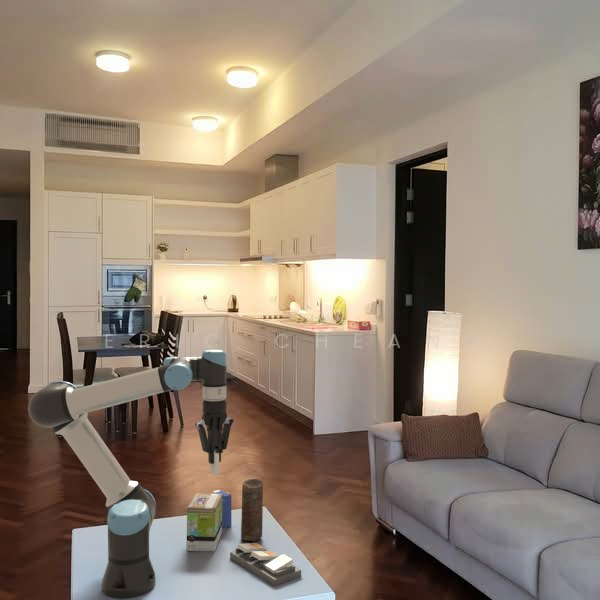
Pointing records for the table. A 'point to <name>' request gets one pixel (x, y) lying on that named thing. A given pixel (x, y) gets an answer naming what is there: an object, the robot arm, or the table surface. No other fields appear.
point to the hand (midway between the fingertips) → (214, 473)
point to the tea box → (204, 522)
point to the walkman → (225, 508)
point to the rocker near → (278, 563)
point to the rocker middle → (263, 555)
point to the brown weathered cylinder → (252, 509)
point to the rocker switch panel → (261, 571)
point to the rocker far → (250, 547)
